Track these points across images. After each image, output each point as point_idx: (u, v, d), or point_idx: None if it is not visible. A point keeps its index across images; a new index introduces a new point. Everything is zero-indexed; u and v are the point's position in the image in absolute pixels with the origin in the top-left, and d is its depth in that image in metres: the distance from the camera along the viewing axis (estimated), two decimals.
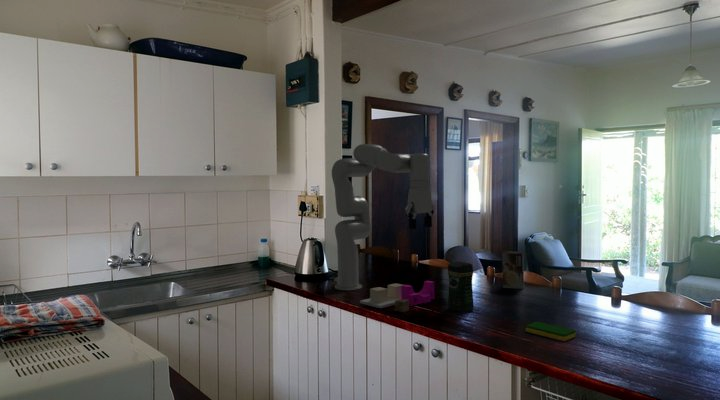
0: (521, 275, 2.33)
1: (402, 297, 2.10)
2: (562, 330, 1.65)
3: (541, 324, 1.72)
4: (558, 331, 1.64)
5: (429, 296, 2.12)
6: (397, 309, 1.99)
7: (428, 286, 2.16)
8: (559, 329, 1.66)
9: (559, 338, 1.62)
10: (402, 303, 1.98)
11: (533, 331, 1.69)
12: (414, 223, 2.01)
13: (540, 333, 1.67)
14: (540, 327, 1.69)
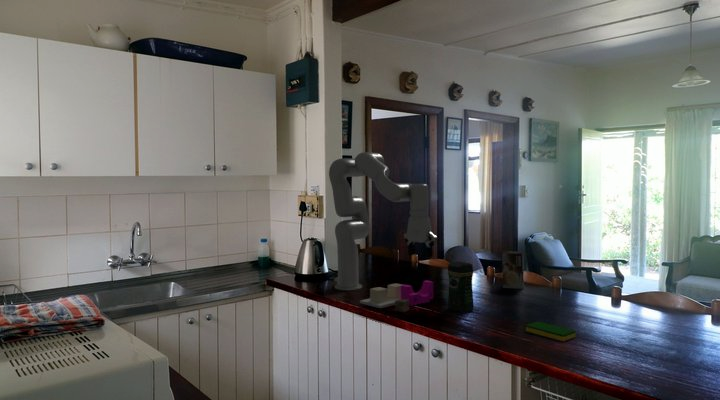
0: (521, 275, 2.33)
1: (402, 297, 2.10)
2: (562, 330, 1.65)
3: (541, 324, 1.72)
4: (557, 331, 1.64)
5: (428, 296, 2.12)
6: (397, 309, 1.99)
7: (427, 286, 2.16)
8: (559, 329, 1.66)
9: (558, 338, 1.62)
10: (402, 303, 1.98)
11: (533, 331, 1.69)
12: None
13: (540, 333, 1.67)
14: (540, 327, 1.69)
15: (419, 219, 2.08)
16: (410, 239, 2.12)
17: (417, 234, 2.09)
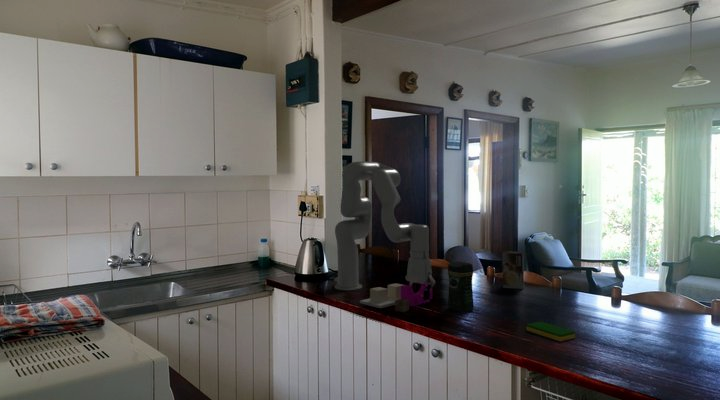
0: (521, 275, 2.33)
1: (402, 297, 2.09)
2: (561, 330, 1.65)
3: (543, 323, 1.73)
4: (556, 331, 1.64)
5: None
6: (397, 309, 1.99)
7: None
8: (558, 329, 1.66)
9: (555, 338, 1.62)
10: (402, 303, 1.98)
11: (533, 330, 1.70)
12: None
13: (539, 332, 1.68)
14: (540, 327, 1.69)
15: (419, 261, 2.09)
16: (410, 279, 2.13)
17: (417, 275, 2.10)
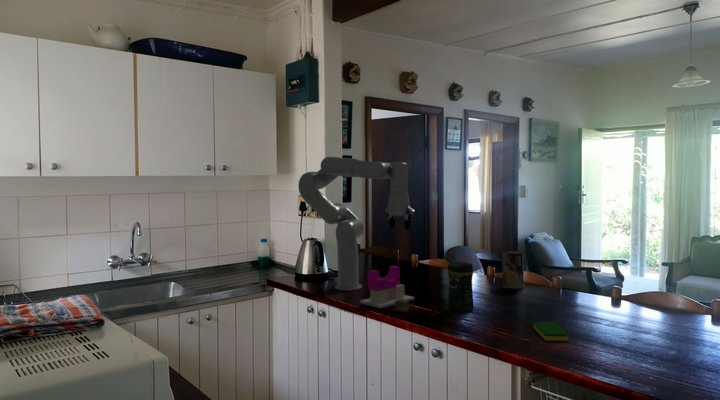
0: (521, 275, 2.33)
1: (369, 282, 2.11)
2: (554, 331, 1.64)
3: (550, 324, 1.72)
4: (548, 331, 1.64)
5: (395, 281, 2.13)
6: (397, 309, 1.99)
7: (394, 271, 2.17)
8: (554, 330, 1.65)
9: (543, 337, 1.63)
10: (402, 303, 1.98)
11: (535, 328, 1.72)
12: None
13: (537, 330, 1.70)
14: (541, 325, 1.71)
15: (398, 195, 2.27)
16: (390, 213, 2.31)
17: (397, 208, 2.28)
